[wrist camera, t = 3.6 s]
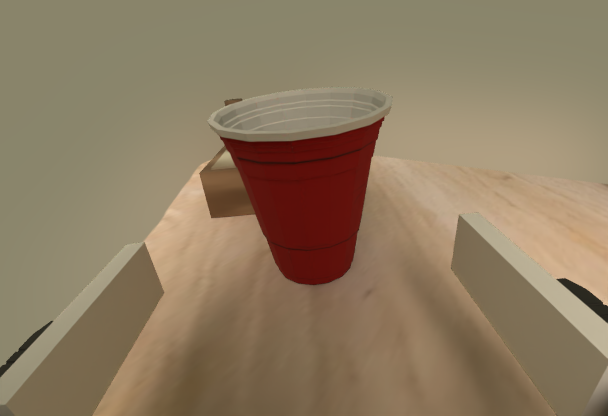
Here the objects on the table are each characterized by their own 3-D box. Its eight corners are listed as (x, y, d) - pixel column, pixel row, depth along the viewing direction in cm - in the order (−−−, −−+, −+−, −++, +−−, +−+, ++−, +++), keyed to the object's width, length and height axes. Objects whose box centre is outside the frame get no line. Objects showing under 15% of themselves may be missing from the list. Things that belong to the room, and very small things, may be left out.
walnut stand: (353, 205, 31) (350, 104, 27) (211, 217, 32) (185, 121, 27) (337, 158, 46) (333, 88, 41) (240, 167, 46) (226, 99, 42)
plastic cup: (224, 317, 19) (167, 123, 13) (260, 229, 28) (235, 95, 23) (402, 316, 18) (417, 101, 12) (377, 224, 27) (378, 81, 22)
